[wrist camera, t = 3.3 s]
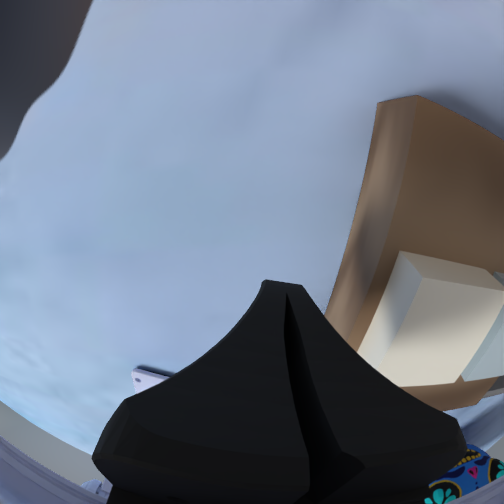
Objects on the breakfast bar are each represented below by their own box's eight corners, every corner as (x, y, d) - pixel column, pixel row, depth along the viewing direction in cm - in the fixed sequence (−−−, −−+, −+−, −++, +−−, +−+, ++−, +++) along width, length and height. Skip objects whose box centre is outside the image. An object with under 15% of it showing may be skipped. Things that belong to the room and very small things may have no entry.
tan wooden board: (458, 370, 17) (476, 404, 13) (304, 368, 17) (307, 418, 14) (540, 185, 10) (578, 203, 7) (377, 102, 11) (417, 94, 7)
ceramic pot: (501, 408, 21) (534, 488, 7) (444, 466, 28) (459, 530, 14) (398, 440, 22) (419, 555, 8) (354, 488, 29) (359, 565, 16)
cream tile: (439, 355, 11) (454, 382, 9) (356, 353, 11) (365, 386, 9) (484, 269, 9) (509, 292, 7) (399, 250, 9) (422, 277, 7)
